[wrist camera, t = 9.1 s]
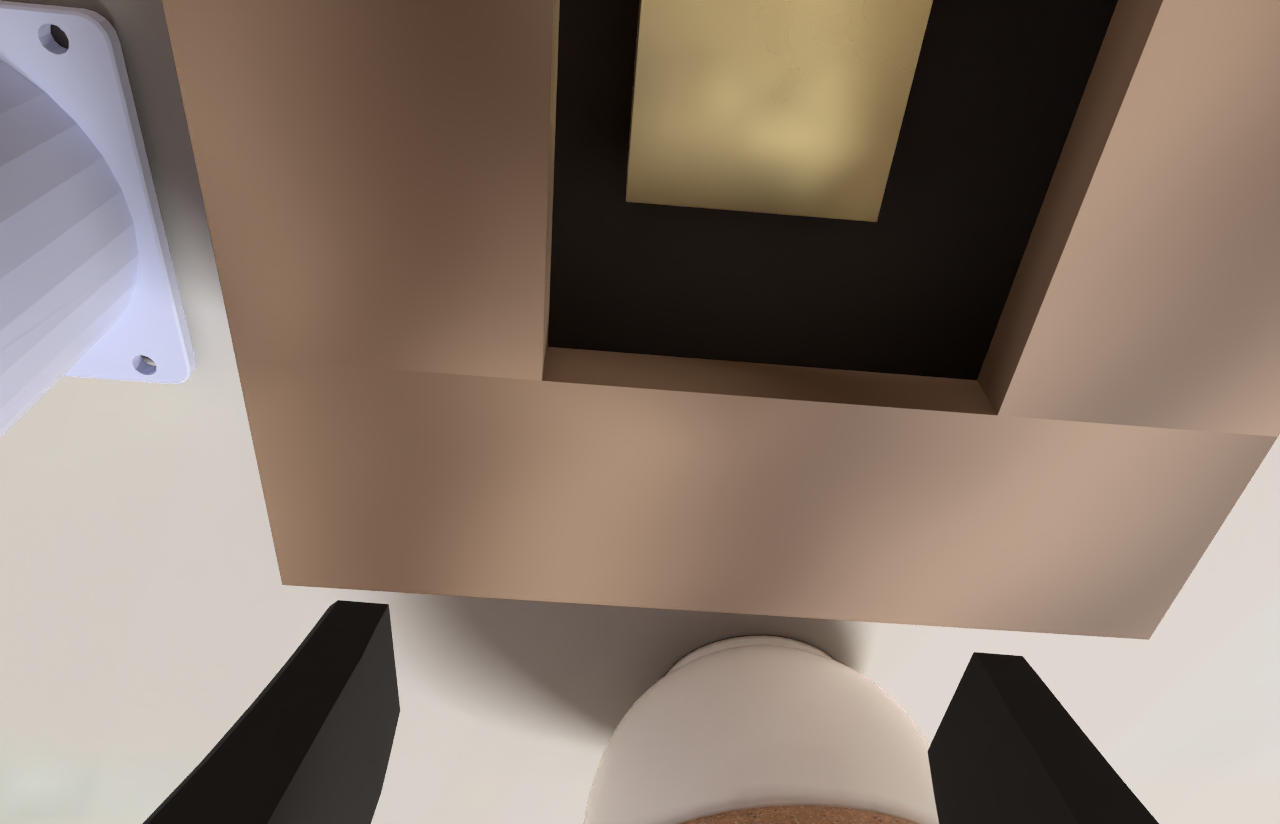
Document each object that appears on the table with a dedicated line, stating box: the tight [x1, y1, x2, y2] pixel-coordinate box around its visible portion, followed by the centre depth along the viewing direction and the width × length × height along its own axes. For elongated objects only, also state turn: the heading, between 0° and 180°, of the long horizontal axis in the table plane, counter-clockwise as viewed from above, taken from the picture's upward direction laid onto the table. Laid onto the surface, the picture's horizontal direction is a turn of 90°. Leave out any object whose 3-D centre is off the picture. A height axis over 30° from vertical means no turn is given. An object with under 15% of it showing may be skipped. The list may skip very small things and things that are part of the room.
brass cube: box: [626, 0, 933, 222], centre depth 15 cm, size 4×4×3 cm
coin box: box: [162, 0, 1280, 639], centre depth 14 cm, size 16×16×6 cm
